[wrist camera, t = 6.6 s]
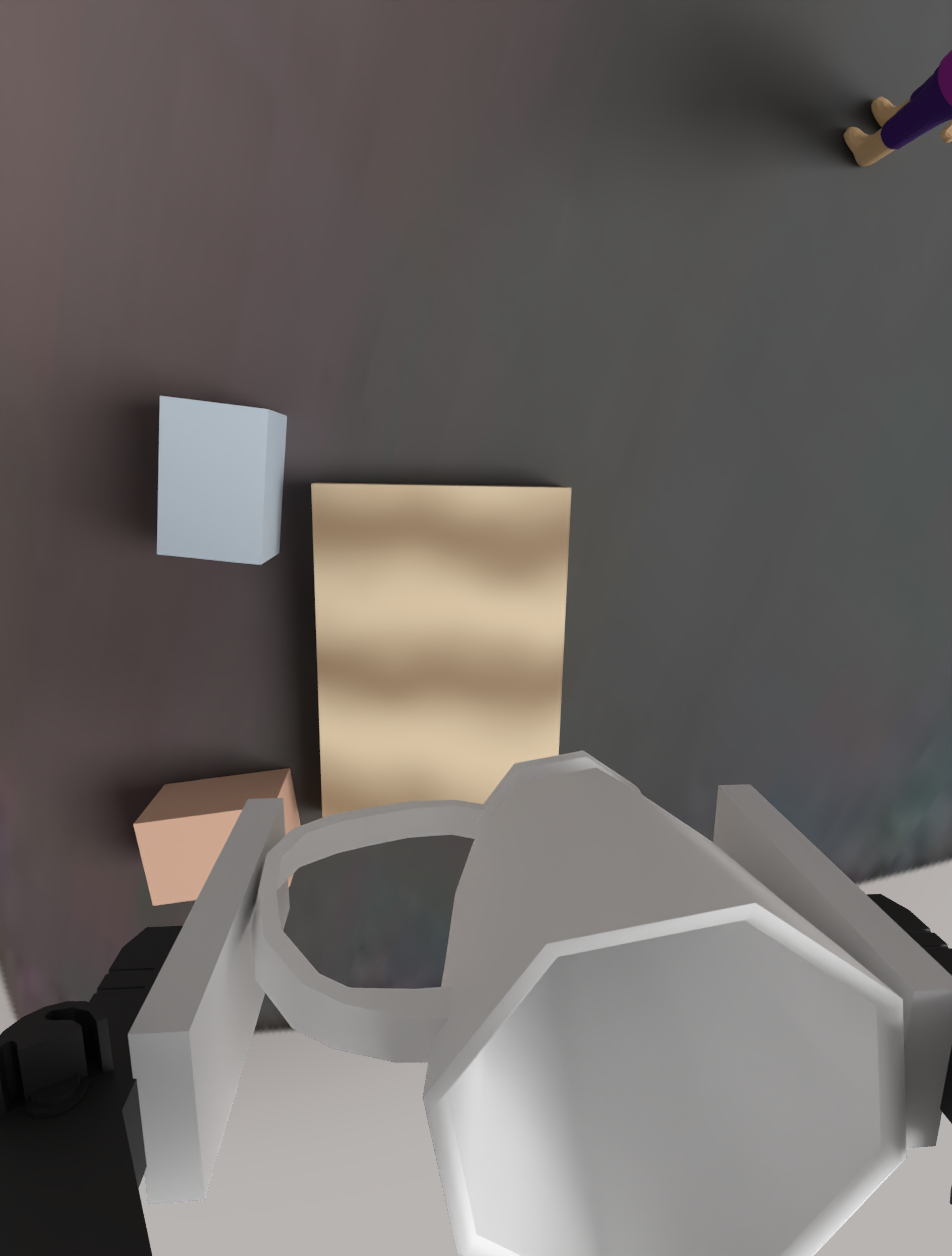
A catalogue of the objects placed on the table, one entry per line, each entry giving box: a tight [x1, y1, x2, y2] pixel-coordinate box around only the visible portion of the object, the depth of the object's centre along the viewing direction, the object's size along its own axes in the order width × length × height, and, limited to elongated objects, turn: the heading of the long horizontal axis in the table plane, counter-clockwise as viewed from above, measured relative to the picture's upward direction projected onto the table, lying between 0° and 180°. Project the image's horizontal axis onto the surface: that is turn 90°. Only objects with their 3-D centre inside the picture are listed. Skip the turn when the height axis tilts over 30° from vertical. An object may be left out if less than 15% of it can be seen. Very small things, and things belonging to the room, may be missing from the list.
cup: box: [251, 751, 907, 1256], centre depth 13 cm, size 7×10×8 cm
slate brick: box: [157, 396, 287, 565], centre depth 29 cm, size 6×4×4 cm, turn 173°
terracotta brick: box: [133, 768, 300, 906], centre depth 33 cm, size 6×4×4 cm, turn 96°
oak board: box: [311, 482, 571, 818], centre depth 32 cm, size 16×11×2 cm
